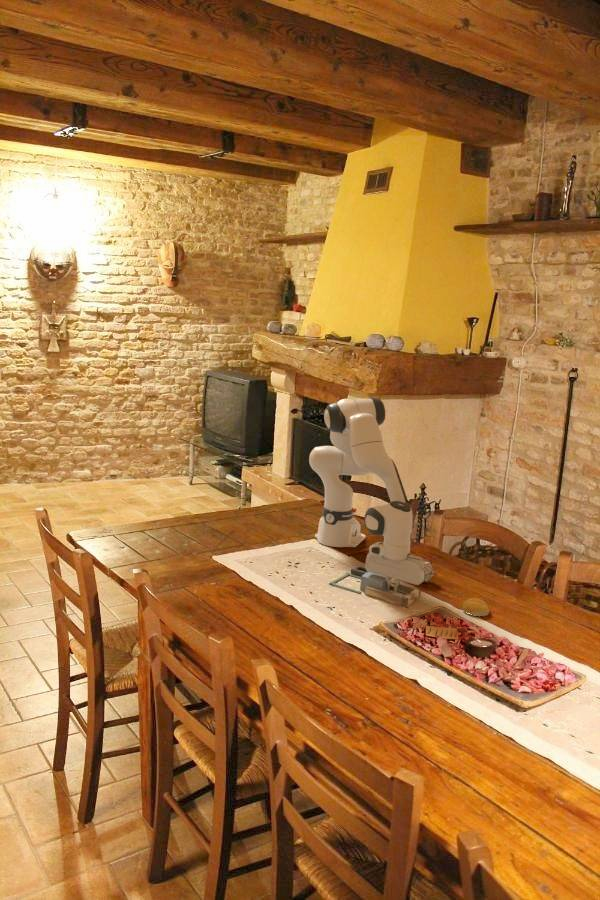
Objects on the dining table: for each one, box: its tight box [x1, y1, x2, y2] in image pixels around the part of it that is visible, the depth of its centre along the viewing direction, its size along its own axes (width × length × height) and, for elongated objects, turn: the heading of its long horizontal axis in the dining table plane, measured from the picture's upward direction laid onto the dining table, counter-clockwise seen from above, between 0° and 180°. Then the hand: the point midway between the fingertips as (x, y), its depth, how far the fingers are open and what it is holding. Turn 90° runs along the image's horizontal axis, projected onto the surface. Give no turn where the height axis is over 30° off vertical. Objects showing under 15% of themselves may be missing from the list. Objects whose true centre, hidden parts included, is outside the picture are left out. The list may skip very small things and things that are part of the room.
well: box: [350, 564, 368, 577], centre depth 261 cm, size 5×9×2 cm, turn 57°
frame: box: [328, 572, 362, 594], centre depth 253 cm, size 13×12×1 cm
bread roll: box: [462, 597, 490, 618], centre depth 236 cm, size 8×9×4 cm
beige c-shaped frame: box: [364, 580, 422, 608], centre depth 245 cm, size 11×15×2 cm
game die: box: [422, 560, 437, 585], centre depth 258 cm, size 9×8×10 cm
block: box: [359, 572, 390, 593], centre depth 248 cm, size 6×8×5 cm
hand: (392, 590), depth 245 cm, fingers closed
